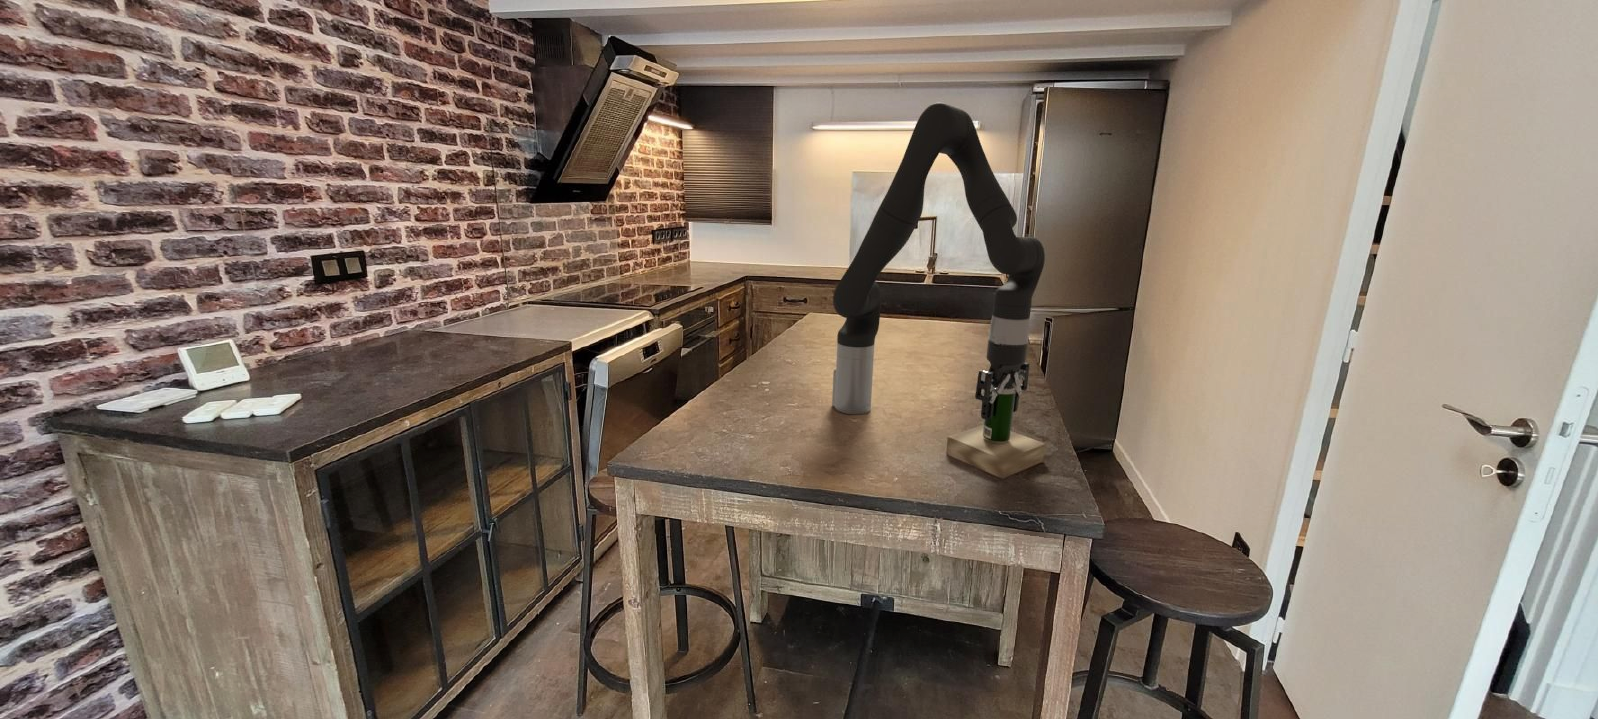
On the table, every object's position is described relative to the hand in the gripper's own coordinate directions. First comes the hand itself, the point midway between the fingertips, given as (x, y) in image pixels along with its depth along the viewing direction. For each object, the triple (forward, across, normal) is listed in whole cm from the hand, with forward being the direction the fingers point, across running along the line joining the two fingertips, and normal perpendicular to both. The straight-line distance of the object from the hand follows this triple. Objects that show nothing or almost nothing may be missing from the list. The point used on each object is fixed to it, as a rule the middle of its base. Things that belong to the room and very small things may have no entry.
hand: (999, 414), depth 127 cm
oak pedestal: (+10, 0, 0) cm, 10 cm away
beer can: (+6, 0, 0) cm, 6 cm away
